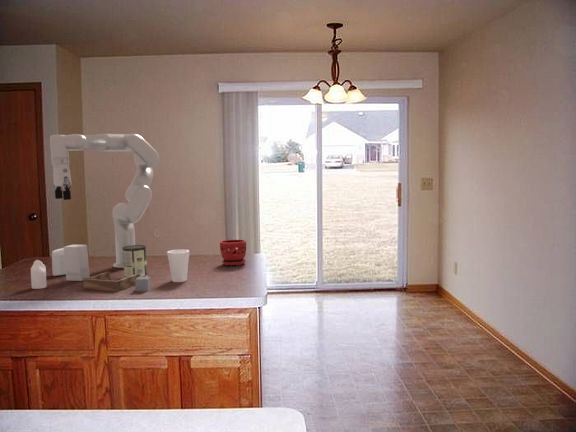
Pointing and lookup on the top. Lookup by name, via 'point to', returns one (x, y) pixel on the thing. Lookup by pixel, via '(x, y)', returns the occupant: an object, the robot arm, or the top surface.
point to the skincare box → (76, 262)
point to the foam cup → (178, 264)
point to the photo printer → (58, 262)
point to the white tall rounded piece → (38, 275)
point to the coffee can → (135, 260)
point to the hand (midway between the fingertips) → (63, 199)
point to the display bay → (109, 282)
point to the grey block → (143, 283)
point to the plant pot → (236, 255)
